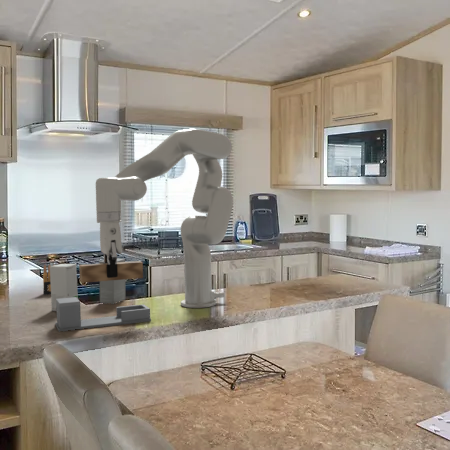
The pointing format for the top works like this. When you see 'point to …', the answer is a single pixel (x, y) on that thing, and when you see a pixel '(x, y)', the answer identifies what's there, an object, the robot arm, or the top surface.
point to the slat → (100, 271)
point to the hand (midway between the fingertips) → (110, 275)
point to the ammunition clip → (47, 281)
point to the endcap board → (72, 318)
